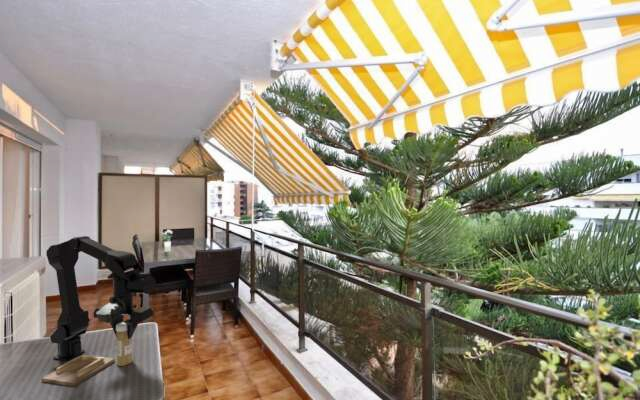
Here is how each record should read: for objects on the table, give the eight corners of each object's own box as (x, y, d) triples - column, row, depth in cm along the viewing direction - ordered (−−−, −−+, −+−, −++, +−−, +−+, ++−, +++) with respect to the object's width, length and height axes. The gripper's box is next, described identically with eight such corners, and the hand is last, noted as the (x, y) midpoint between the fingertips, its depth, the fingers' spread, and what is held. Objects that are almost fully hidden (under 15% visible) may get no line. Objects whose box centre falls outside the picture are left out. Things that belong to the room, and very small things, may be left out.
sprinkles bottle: (132, 363, 104) (132, 324, 103) (116, 368, 101) (115, 327, 101) (132, 357, 107) (131, 319, 107) (116, 361, 105) (115, 322, 105)
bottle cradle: (41, 381, 94) (41, 373, 94) (85, 357, 108) (85, 350, 108) (73, 386, 91) (73, 378, 91) (114, 361, 105) (114, 354, 105)
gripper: (77, 297, 98) (78, 346, 98) (127, 301, 94) (128, 352, 94) (108, 287, 109) (109, 331, 109) (154, 290, 105) (154, 336, 105)
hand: (124, 337), depth 104 cm, fingers closed on sprinkles bottle, 4 cm apart
